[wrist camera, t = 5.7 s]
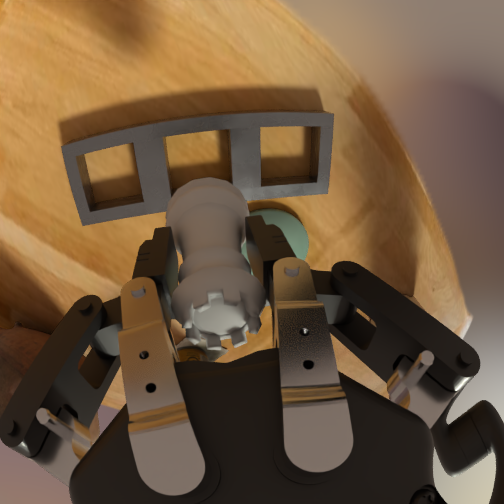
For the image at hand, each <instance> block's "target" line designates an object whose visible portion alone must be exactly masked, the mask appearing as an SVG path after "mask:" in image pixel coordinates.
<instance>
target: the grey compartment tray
mask: <svg viewBox="0 0 504 504" xmlns="http://www.w3.org/2000/svg"><path fill="white" fill-rule="evenodd" d="M333 122H334V114H333V113H329V112H326V111H313V110H255V111H235V112H222V113H210V114H201V115H192V116H184V117H177V118H170V119H164V120H158V121H152V122H147V123H141V124H136V125H131V126H127V127H122V128H118V129H113V130H109V131H105V132H101V133H97V134H94V135H90V136H86V137H83V138H79V139H76V140H73V141H70V142H68V143H66V144H65V145H63V146H61V148H62V153H63V158H64V162H65V166H66V170H67V174H68V178H69V182H70V186H71V190H72V193H73V197H74V200H75V203H76V207H77V210H78V213H79V216H80V219H81V222H82V225H83V226H85V225H90V224H95V223H101V222H106V221H111V220H117V219H123V218H128V217H134V216H140V215H146V214H153V213H159V212H166V211H167V207H168V202H169V201H170V199H171V198H172V196H173V195H174V194H175V192H176V191H177V189H172V182H171V176H170V169H169V161H168V154H167V146H166V138H165V137H166V136H173V135H180V134H187V133H195V132H203V131H213V130H223V129H227V133H228V151H229V169H230V182H229V183H231V184H232V185H233V186H235V187H236V188H238V189H239V190H240V191H241V193H242V195H243V196H244V198H245V200H246V201H251V200H260V199H271V198H281V197H292V196H304V195H317V194H328V187H329V177H330V165H331V153H332V139H333ZM275 126H312V136H311V157H310V175H309V176H294V177H280V178H267V179H261V152H260V127H275ZM128 143H133V144H134V150H135V156H136V162H137V168H138V173H139V179H140V184H141V189H142V194H141V195H135V196H129V197H124V198H119V199H114V200H109V201H104V202H99V203H96V202H95V198H94V194H93V190H92V187H91V183H90V178H89V174H88V170H87V166H86V161H85V156H84V154H86V153H90V152H93V151H97V150H101V149H106V148H110V147H114V146H119V145H123V144H128ZM178 189H179V188H178Z"/></svg>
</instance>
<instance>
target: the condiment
mask: <svg viewBox="0 0 504 504" xmlns="http://www.w3.org/2000/svg"><path fill="white" fill-rule="evenodd" d="M191 345H192V346H191ZM176 349H177V352H178V355H179V359H180V362H183V361H192V360H196V361H207V362H214V361H215V360H216V359H218V358H219V357H221V356H222V355H224V354H226V353H227V352H228V350H226V349H224V348H222V347H221V350H209V349H207V345H206V340H204V339H202V338H201V341H200V342H199V343H197V344H196V345H194V344H193V343H192V342H190V341H189V340H188V339H187V338H185V339H183V341H181V342H180V343H179V344H178V345H176Z"/></svg>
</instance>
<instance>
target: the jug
mask: <svg viewBox="0 0 504 504" xmlns="http://www.w3.org/2000/svg"><path fill="white" fill-rule="evenodd" d="M50 336H51V335H49V334H47V333H44V332H40V331H37V330H33V329H27V328H24V327H22V325H21V323H20V322H15V326H14V328H12V329H3V328H1V327H0V418H1V416H2V414H3V412H4V410H5V408H6V406H7V405H8V403H9V401H10V399H11V397H12V396H13V394H14V392H15V390H16V389H17V387H18V385H19V383H20V382H21V380H22V378H23V377H24V375H25V373H26V372H27V370H28V369H29V367H30V365H31V364H32V362H33V361H34V359H35V358H36V356H37V355H38V353H39V352H40V350H41V349H42V347H43V346H44V344H45V343H46V341H47V340H48V338H49V337H50ZM85 359H86V357H85V356H84V355H83V356H82V357H81V359H80V361H79V363H78V370H79V369H80V367H81V365H82V364H83V362H84V360H85ZM89 432H90V435H91V442H92V443H94V442H95V441H96V440H97V439H98V437H99V434H100V430H99V420H98V412H97V413H96V415H95V417H94V419H93V421H92V423H91V425H90V427H89Z"/></svg>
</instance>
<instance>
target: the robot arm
mask: <svg viewBox="0 0 504 504" xmlns="http://www.w3.org/2000/svg"><path fill="white" fill-rule="evenodd" d="M245 233H246V250H247V256H248V260H249V263H250V265H251V269H252V273H253V276H255V277H257V278H258V280H259V281H260V283H261V284H262V286H263V287H264V289H265V291H266V305H265V306H271V309H272V344H273V348H272V349H266V350H261V351H257V352H254V353H252V354H249V355H247V356H244V357H242V358H239V359H237V360H234V361H231V362H228V363H219V362H207V361H196V360H192V361H183V362H180V359H179V355H178V352H177V349H176V345H175V342H174V338H173V334H172V331H171V329H170V327H171V319H175V317H174V314H173V312H172V309H171V307H170V306H171V300H172V295H173V292H174V290H175V289H176V288H177V287H178V257H177V252H176V247H175V243H174V238H173V233H172V229H171V226H168V227H161V228H155V230H154V235H153V239H152V240H145V242H144V243H143V244H142V245H141V246H140V248H139V251H138V256H137V259H136V264H135V268H134V272H133V277H132V280H130V281H128V282H127V283H126V284H125V285H124V286H123V287H122V289H121V296H119V297H117V298H115V299H112V300H110V301H107V302H104V303H103V302H102V300H101V299H100V298H99V297H98V296H96V295H87V296H84V297H82V298H80V299H79V300H77V301H76V302H75V303H74V304H73V306H72V307H71V308H70V310H69V311H68V312H67V314H66V315H65V316H64V318H63V319H62V320H61V322H60V323H59V324H58V326H57V327H56V329H55V330H54V331H53V333H52V334H51V336H50V337H49V338H48V340H47V341H46V343H45V344H44V346H43V347H42V349H41V350H40V352H39V353H38V355H37V356H36V358H35V359H34V361H33V362H32V364H31V365H30V367H29V369H28V370H27V372H26V373H25V375H24V377H23V378H22V380H21V382H20V383H19V385H18V387H17V389H16V390H15V392H14V394H13V396H12V397H11V399H10V401H9V403H8V405H7V406H6V408H5V410H4V412H3V414H2V416H1V418H0V438H1V440H2V442H3V443H4V444H5V445H6V446H8V447H9V448H11V449H13V450H15V451H16V452H18V453H20V454H21V455H22V456H23V457H25V458H27V459H29V460H31V461H33V462H35V463H37V464H38V465H40V466H41V467H42V468H43V469H45V470H46V471H47V472H48V473H50V474H51V475H52V476H54V477H55V478H57V479H58V480H59V481H61V482H62V483H64V484H65V485H66V486H68V487H69V493H70V498H71V501H72V503H73V504H447V503H446V502H445V501H444V499H443V498H442V497H441V495H440V494H439V493H438V491H437V489H436V487H435V484H434V478H433V452H434V447H435V449H436V452H437V455H438V457H439V460H440V462H441V465H442V466H443V468H444V470H445V472H446V473H447V474H448V475H450V476H452V477H455V476H458V475H460V474H461V473H463V472H464V471H466V470H468V469H469V468H471V467H472V466H474V465H475V464H477V463H478V462H479V461H481V460H482V459H484V458H485V457H486V456H487V455H488V454H490V453H491V452H494V453H495V456H496V476H495V482H494V488H493V492H492V496H491V499H490V502H489V504H504V423H503V421H502V419H501V417H500V415H499V414H498V412H497V410H496V409H495V408H494V407H493V405H492V404H491V403H489V402H488V401H486V400H482V401H480V402H478V403H477V404H475V405H474V406H473V407H472V408H470V409H469V410H468V411H467V412H465V413H464V414H462V415H461V416H460V417H458V418H457V419H456V420H454V421H453V422H452V423H451V424H449V425H448V424H447V423H446V418H447V414H448V412H449V410H450V408H451V406H452V404H453V403H454V401H455V400H456V398H457V397H458V396H459V394H460V393H461V391H462V390H463V389H464V387H465V385H466V384H467V383H468V382H469V381H470V380H471V379H472V378H473V377H474V376H475V375H476V374H477V373H478V371H479V369H480V359H479V356H478V354H477V352H476V351H475V350H474V349H473V348H472V347H471V346H470V345H469V344H467V343H466V342H465V341H464V340H462V339H461V338H460V337H459V336H457V335H456V334H455V333H453V332H452V331H451V330H450V329H448V328H447V327H446V326H444V325H443V324H442V323H440V322H439V321H438V320H436V319H435V318H434V317H432V316H431V315H430V314H428V313H427V312H426V311H425V310H424V309H423V307H422V306H421V305H420V303H419V302H418V301H417V300H416V298H415V297H414V296H413V297H409V296H408V295H402V294H401V293H400V292H398V291H397V290H395V289H394V288H393V287H391V286H390V285H388V284H387V283H385V282H384V281H383V280H381V279H380V278H378V277H377V276H375V275H374V274H372V273H371V272H370V271H368V270H367V269H365V268H364V267H362V266H361V265H359V264H357V263H355V262H351V261H341V262H338V263H336V264H334V265H333V267H332V270H331V272H330V271H317V270H312V269H310V266H309V265H308V263H307V262H305V261H304V260H302V259H299V258H297V257H296V255H295V253H294V251H293V250H292V248H291V246H290V244H289V242H288V241H287V239H286V237H285V235H284V233H283V232H282V230H281V229H280V228H279V227H277V226H276V225H274V224H268V225H266V223H265V221H264V219H263V217H262V215H255V216H246V217H245ZM357 308H359V309H360V310H361V311H362V312H364V313H365V314H366V315H367V316H369V317H370V318H371V322H369V321H368V320H366V319H365V318H364V317H363V316H361V315H360V314H359V313H358V312H356V311H357ZM330 333H331V334H332V335H333V336H335V337H336V338H337V339H338V340H339V341H340V342H341V343H342V344H343V345H345V346H346V347H347V348H348V349H349V350H350V351H351V352H352V353H353V354H355V355H356V356H357V357H358V358H359V359H360V360H361V361H362V362H363V363H365V364H366V365H367V366H368V367H369V368H370V369H371V370H372V371H374V372H375V373H376V374H377V375H378V376H379V377H380V378H381V379H382V380H384V381H385V382H386V383H387V391H388V394H389V399H390V400H389V399H387V398H385V397H383V396H381V395H380V394H378V393H376V392H374V391H372V390H371V389H369V388H367V387H365V386H363V385H362V384H360V383H358V382H356V381H355V380H353V379H351V378H350V377H348V376H346V375H344V374H343V373H341V372H339V371H338V370H337V365H336V359H335V354H334V349H333V345H332V340H331V335H330ZM89 344H90V346H91V347H92V349H91V350H90V352H89V354H88V355H87V357H86V359H85V360H84V362H83V364H82V365H81V367H80V369H79V370H78V363H79V361H80V359H81V357H82V356H83V354H84V352H85V351H86V349H87V347H88V346H89ZM120 366H121V369H122V376H123V383H124V390H125V396H126V402H127V403H126V404H125V405H124V406H123V408H122V409H121V410H120V412H119V413H118V414H117V415H116V416H115V418H114V419H113V420H112V422H111V423H110V424H109V425H108V427H107V428H106V429H105V430H104V431H103V433H102V434H101V435H100V436H99V438H98V439H97V440H96V441H95V443H94V444H93V445H92V442H91V435H90V432H89V427H90V425H91V423H92V421H93V419H94V417H95V415H96V413H97V411H98V409H99V407H100V404H101V402H102V400H103V398H104V396H105V394H106V392H107V391H108V389H109V387H110V385H111V383H112V381H113V379H114V377H115V375H116V373H117V371H118V369H119V367H120Z"/></svg>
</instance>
